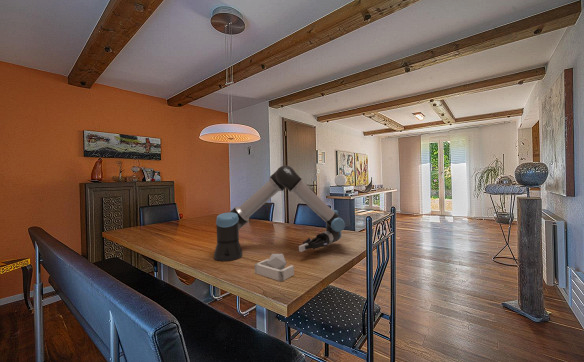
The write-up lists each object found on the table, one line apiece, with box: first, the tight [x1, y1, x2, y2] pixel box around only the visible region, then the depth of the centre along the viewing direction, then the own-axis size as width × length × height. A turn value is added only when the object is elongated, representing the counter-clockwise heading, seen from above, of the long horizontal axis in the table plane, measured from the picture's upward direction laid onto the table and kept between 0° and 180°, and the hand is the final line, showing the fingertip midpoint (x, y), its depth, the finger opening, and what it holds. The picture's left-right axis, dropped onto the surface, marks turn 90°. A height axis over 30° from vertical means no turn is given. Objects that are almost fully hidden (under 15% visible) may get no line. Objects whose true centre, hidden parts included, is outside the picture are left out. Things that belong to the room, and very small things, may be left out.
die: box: [267, 253, 287, 270], centre depth 112 cm, size 8×9×10 cm
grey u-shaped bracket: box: [253, 258, 295, 282], centre depth 109 cm, size 16×8×4 cm, turn 51°
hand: (300, 249), depth 125 cm, fingers closed
